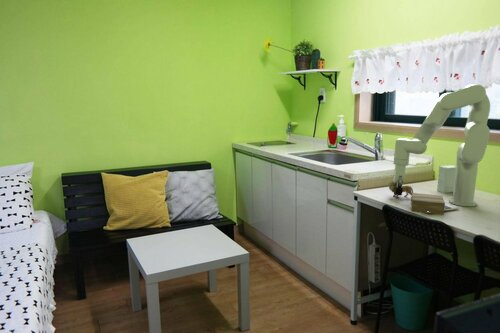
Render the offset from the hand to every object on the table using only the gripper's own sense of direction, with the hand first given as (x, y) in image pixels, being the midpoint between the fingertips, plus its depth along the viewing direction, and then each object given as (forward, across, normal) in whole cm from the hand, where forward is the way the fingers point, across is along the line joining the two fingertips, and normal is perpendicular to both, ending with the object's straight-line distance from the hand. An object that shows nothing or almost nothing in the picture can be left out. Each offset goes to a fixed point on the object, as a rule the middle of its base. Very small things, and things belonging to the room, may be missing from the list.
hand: (398, 192), depth 209 cm
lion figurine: (+3, 0, +2) cm, 3 cm away
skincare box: (+2, -22, +28) cm, 35 cm away
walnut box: (+3, +17, +12) cm, 21 cm away
